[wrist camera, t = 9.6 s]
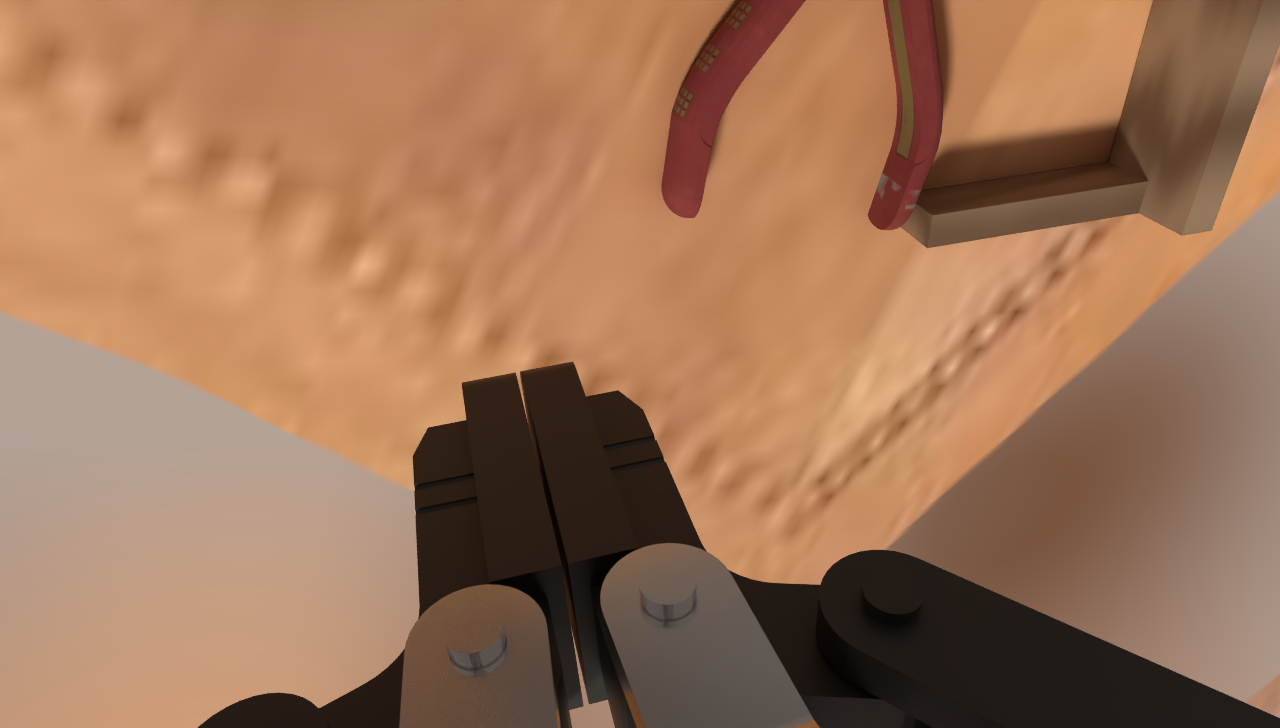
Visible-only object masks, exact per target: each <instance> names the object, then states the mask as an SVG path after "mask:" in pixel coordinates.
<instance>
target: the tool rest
mask: <svg viewBox="0 0 1280 728" xmlns="http://www.w3.org/2000/svg"><path fill="white" fill-rule="evenodd" d="M1279 45H1280V0H1153V4H1152V8H1151V11H1150V15H1149V18H1148V22H1147V26H1146V29H1145V33H1144V36H1143V40H1142V44H1141V47H1140V51H1139V54H1138V58H1137V62H1136V65H1135V69H1134V72H1133V76H1132V80H1131V83H1130V87H1129V90H1128V94H1127V98H1126V101H1125V105H1124V108H1123V112H1122V116H1121V119H1120V123H1119V126H1118V130H1117V134H1116V137H1115V141H1114V144H1113V148H1112V152H1111V155H1110V159H1109V162H1106V163H1099V164H1093V165H1086V166H1080V167H1073V168H1067V169H1060V170H1053V171H1047V172H1040V173H1034V174H1027V175H1021V176H1014V177H1007V178H1001V179H994V180H988V181H981V182H975V183H968V184H961V185H955V186H948V187H942V188H935V189H929V190H922V191H921V192H920V195H919V197H918V200H917V202H916V205H915V207H914V210H913V212H912V214H911V216H910V218H909V219H908V220H907V221H906V222H905V223H904V224H903V225H902V226H901V228H903V229H904V230H905V231H906V232H908V233H909V234H910V235H911V236H913V237H914V238H915V239H916V240H918V241H919V242H920V243H921V244H923V245H924V246H925V247H927V248H931V247H937V246H943V245H949V244H955V243H961V242H967V241H973V240H979V239H985V238H991V237H997V236H1003V235H1009V234H1015V233H1021V232H1027V231H1033V230H1039V229H1045V228H1051V227H1057V226H1063V225H1069V224H1075V223H1082V222H1088V221H1094V220H1100V219H1106V218H1112V217H1118V216H1124V215H1130V214H1136V213H1140V214H1142V215H1144V216H1145V217H1147V218H1149V219H1151V220H1153V221H1155V222H1157V223H1159V224H1161V225H1163V226H1164V227H1166V228H1168V229H1170V230H1172V231H1174V232H1176V233H1178V234H1180V235H1182V236H1183V235H1188V234H1194V233H1200V232H1206V231H1211V230H1212V228H1213V225H1214V223H1215V220H1216V217H1217V214H1218V212H1219V209H1220V206H1221V203H1222V201H1223V198H1224V195H1225V193H1226V190H1227V187H1228V184H1229V182H1230V179H1231V176H1232V173H1233V171H1234V168H1235V165H1236V163H1237V160H1238V157H1239V154H1240V152H1241V149H1242V146H1243V144H1244V141H1245V138H1246V135H1247V133H1248V130H1249V127H1250V124H1251V122H1252V119H1253V116H1254V114H1255V111H1256V108H1257V105H1258V103H1259V100H1260V97H1261V94H1262V92H1263V89H1264V86H1265V84H1266V81H1267V78H1268V75H1269V73H1270V70H1271V67H1272V64H1273V62H1274V59H1275V56H1276V54H1277V51H1278V48H1279Z"/></svg>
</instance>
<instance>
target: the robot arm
mask: <svg viewBox="0 0 1280 728" xmlns="http://www.w3.org/2000/svg"><path fill="white" fill-rule="evenodd" d="M520 377H521V384H522V390H523V396H524V402H525V408H526V414H527V418H526V414H525V410H524V405H523V401H522V397H521V393H520V388H519V384H518V380H517V376H516V373H511V374H506V375H500V376H495V377H490V378H484V379H479V380H473V381H468V382H463V383H462V390H463V397H464V404H465V412H466V419H467V420H465V421H460V422H455V423H450V424H444V425H439V426H434V427H429V428H428V429H427V431H426V433H425V434H424V436H423V438H422V440H421V442H420V444H419V446H418V447H417V449H416V451H415V453H414V455H413V469H414V486H415V491H414V492H415V510H416V535H417V558H418V578H419V579H418V580H419V602H420V609H419V618H418V620H417V622H416V623H415V625H414V626H413V628H412V630H411V631H410V634H409V636H408V639H407V641H406V646H405V649H404V650H403V652H402V653H401V654H400V655H399V656H398V658H397V659H396V660H395V661H394V662H393V663H392V664H391V665H390V666H389V667H388V668H387V669H385V670H384V671H383V672H381V673H380V674H379V675H378V676H376V677H375V678H373V679H372V680H370V681H368V682H367V683H365V684H363V685H362V686H360V687H358V688H356V689H355V690H353V691H351V692H349V693H347V694H345V695H343V696H341V697H340V698H338V699H336V700H334V701H332V702H330V703H328V704H327V705H325V706H323V707H321V708H317V707H316V706H315V705H314V704H313V703H312V702H310V701H308V700H307V699H305V698H303V697H300V696H297V695H294V694H286V693H267V694H263V695H257V696H253V697H250V698H247V699H244V700H241V701H239V702H237V703H234V704H232V705H230V706H228V707H226V708H225V709H223V710H221V711H219V712H218V713H216V714H215V715H213V716H212V717H210V718H209V719H208V720H206V721H205V722H204V723H203V724H201V725H200V726H199V727H198V728H572V725H571V719H570V713H569V710H571V709H575V708H578V707H582V706H583V700H582V694H581V687H580V681H579V674H578V668H577V662H576V655H575V649H574V642H573V637H574V640H575V645H576V650H577V654H578V658H579V663H580V667H581V671H582V676H583V680H584V684H585V688H586V692H587V697H588V701H589V704H592V703H596V702H600V701H604V700H608V701H609V705H610V710H611V714H612V717H613V721H614V725H615V728H1280V718H1278V717H1276V716H1274V715H1271V714H1269V713H1267V712H1265V711H1262V710H1260V709H1258V708H1255V707H1253V706H1251V705H1249V704H1246V703H1244V702H1242V701H1239V700H1237V699H1235V698H1233V697H1230V696H1228V695H1226V694H1224V693H1222V692H1219V691H1217V690H1215V689H1212V688H1210V687H1208V686H1206V685H1203V684H1201V683H1199V682H1197V681H1194V680H1192V679H1190V678H1187V677H1185V676H1183V675H1181V674H1178V673H1176V672H1174V671H1172V670H1170V669H1167V668H1165V667H1163V666H1160V665H1158V664H1156V663H1154V662H1151V661H1149V660H1147V659H1145V658H1142V657H1140V656H1138V655H1136V654H1133V653H1131V652H1128V651H1126V650H1124V649H1122V648H1120V647H1117V646H1115V645H1113V644H1111V643H1108V642H1106V641H1104V640H1102V639H1099V638H1097V637H1095V636H1092V635H1090V634H1088V633H1085V632H1083V631H1081V630H1079V629H1077V628H1074V627H1072V626H1070V625H1068V624H1065V623H1063V622H1061V621H1059V620H1056V619H1054V618H1052V617H1049V616H1047V615H1045V614H1043V613H1041V612H1038V611H1036V610H1034V609H1032V608H1029V607H1027V606H1025V605H1022V604H1020V603H1018V602H1015V601H1013V600H1011V599H1009V598H1007V597H1004V596H1002V595H1000V594H998V593H995V592H993V591H991V590H988V589H986V588H984V587H982V586H979V585H977V584H975V583H973V582H970V581H968V580H966V579H964V578H961V577H959V576H957V575H955V574H952V573H950V572H947V571H945V570H943V569H941V568H939V567H936V566H934V565H932V564H930V563H927V562H925V561H923V560H921V559H918V558H915V557H913V556H910V555H907V554H904V553H899V552H896V551H888V550H868V551H861V552H857V553H854V554H851V555H848V556H846V557H844V558H842V559H840V560H839V561H838V562H836V563H835V564H833V565H832V566H831V568H830V569H829V570H828V571H827V572H826V574H825V576H824V577H823V579H822V582H821V585H809V584H782V583H768V582H761V581H756V580H752V579H749V578H746V577H743V576H740V575H738V574H736V573H734V572H732V571H729V570H728V569H727V568H726V566H725V565H724V564H723V563H722V562H721V561H720V560H719V559H717V558H716V557H714V556H713V555H711V554H710V553H708V552H707V551H706V550H705V548H704V547H703V545H702V543H701V541H700V539H699V537H698V535H697V532H696V530H695V528H694V525H693V523H692V521H691V519H690V516H689V514H688V512H687V509H686V507H685V505H684V503H683V500H682V498H681V496H680V493H679V491H678V489H677V487H676V484H675V482H674V480H673V477H672V475H671V473H670V470H669V468H668V466H667V464H666V462H664V458H663V454H662V452H661V450H660V448H659V445H658V443H657V441H655V438H654V434H653V432H652V429H651V427H650V425H649V422H648V420H647V418H646V416H645V413H644V411H643V409H641V408H640V407H639V406H638V405H636V404H635V403H634V402H632V401H631V400H630V399H629V398H627V397H626V396H625V395H623V394H622V393H621V392H620V391H612V392H607V393H602V394H597V395H592V396H587V397H586V396H585V393H584V390H583V387H582V385H581V382H580V379H579V376H578V373H577V370H576V367H575V365H574V363H573V362H569V363H563V364H558V365H553V366H547V367H542V368H536V369H531V370H526V371H520ZM527 420H528V422H527ZM571 628H572V630H571ZM572 632H573V636H572Z"/></svg>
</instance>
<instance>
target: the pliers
mask: <svg viewBox="0 0 1280 728" xmlns="http://www.w3.org/2000/svg"><path fill="white" fill-rule="evenodd" d="M805 1H806V0H740V2H739V3H738V4H737V6H736V7H735V8H734V10H733V11H732V12H731V14H730V15H729V16H728V18H727V19H726V20H725V22H724V23H723V24H722V25H721V27H720V28H719V29H718V31H717V32H716V33H715V35H714V36H713V37H712V39H711V40H710V41H709V43H708V44H707V45H706V47H705V48H704V50H703V51H702V53H701V54H700V56H699V57H698V59H697V60H696V62H695V64H694V65H693V67H692V69H691V71H690V72H689V74H688V76H687V78H686V80H685V82H684V84H683V86H682V87H681V89H680V91H679V94H678V96H677V99H676V102H675V105H674V108H673V110H672V115H671V122H670V129H669V136H668V143H667V150H666V157H665V165H664V172H663V179H662V194H663V198H664V201H665V203H666V205H667V206H668V208H669V209H670V210H671V211H672V212H674V213H675V214H676V215H678V216H681V217H685V218H694V217H695V216H696V215H697V214H698V211H699V209H700V206H701V202H702V198H703V193H704V187H705V181H706V176H707V170H708V165H709V159H710V153H711V146H712V143H713V139H714V136H715V132H716V130H717V127H718V125H719V122H720V119H721V117H722V115H723V113H724V111H725V109H726V107H727V105H728V104H729V102H730V100H731V98H732V97H733V95H734V93H735V92H736V90H737V89H738V87H739V86H740V84H741V83H742V81H743V80H744V79H745V77H746V76H747V75H748V73H749V72H750V71H751V70H752V68H753V67H754V66H755V65H756V63H757V62H758V61H759V59H760V58H761V57H762V56H763V54H764V53H765V52H766V50H767V49H768V48H769V47H770V45H771V44H772V43H773V41H774V40H775V39H776V38H777V36H778V35H779V34H780V33H781V31H782V30H783V29H784V27H785V26H786V25H787V24H788V22H789V21H790V20H791V18H792V17H793V16H794V15H795V13H796V12H797V11H798V9H799V8H800V7H801V6H802V4H803V3H804V2H805ZM883 4H884V10H885V17H886V23H887V30H888V36H889V43H890V49H891V56H892V62H893V69H894V75H895V82H896V91H897V121H896V128H895V134H894V138H893V142H892V146H891V150H890V153H889V155H888V158H887V161H886V164H885V167H884V170H883V172H882V175H881V178H880V181H879V184H878V187H877V189H876V192H875V195H874V198H873V201H872V204H871V207H870V210H869V213H868V217H869V220H870V221H871V223H872V224H873V225H874V226H875V227H877V228H878V229H881V230H893V229H897V228H899V227H901V226H902V225H903V224H904V223H905V222H906V221H907V220H908V219H909V218H910V216H911V214H912V212H913V210H914V207H915V205H916V202H917V200H918V197H919V195H920V192H921V190H922V187H923V185H924V182H925V180H926V177H927V175H928V172H929V170H930V167H931V165H932V162H933V160H934V157H935V155H936V152H937V150H938V146H939V141H940V136H941V131H942V119H943V90H942V78H941V69H940V61H939V53H938V44H937V36H936V27H935V19H934V11H933V2H932V0H883Z"/></svg>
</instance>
